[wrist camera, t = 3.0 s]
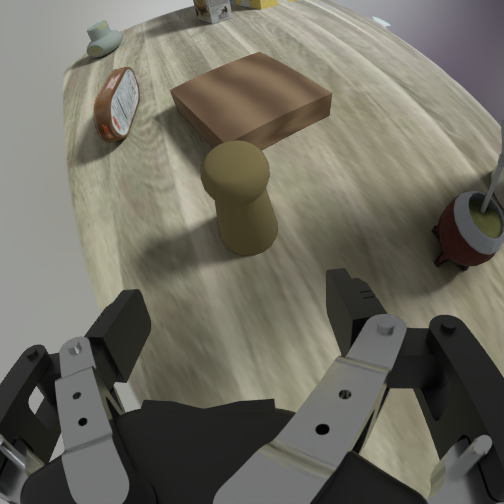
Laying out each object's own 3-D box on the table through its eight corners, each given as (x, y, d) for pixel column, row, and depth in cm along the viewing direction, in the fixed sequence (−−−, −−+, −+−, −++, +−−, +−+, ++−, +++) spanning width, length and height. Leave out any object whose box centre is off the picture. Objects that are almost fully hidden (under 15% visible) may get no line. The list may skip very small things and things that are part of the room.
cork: (209, 243, 29) (174, 178, 19) (235, 196, 31) (215, 123, 21) (263, 264, 28) (252, 203, 18) (286, 214, 30) (287, 139, 20)
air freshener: (130, 41, 56) (119, 14, 47) (111, 56, 54) (98, 28, 45) (105, 46, 59) (94, 22, 50) (87, 61, 56) (74, 36, 47)
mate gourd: (451, 291, 24) (546, 228, 11) (408, 236, 27) (477, 142, 14) (481, 253, 25) (559, 185, 12) (442, 204, 28) (502, 118, 15)
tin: (130, 96, 43) (114, 62, 35) (146, 92, 43) (130, 56, 35) (109, 154, 37) (83, 115, 29) (127, 149, 37) (102, 108, 29)
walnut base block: (261, 70, 41) (259, 51, 37) (329, 115, 35) (332, 93, 32) (177, 109, 39) (169, 90, 35) (231, 167, 33) (225, 144, 29)
